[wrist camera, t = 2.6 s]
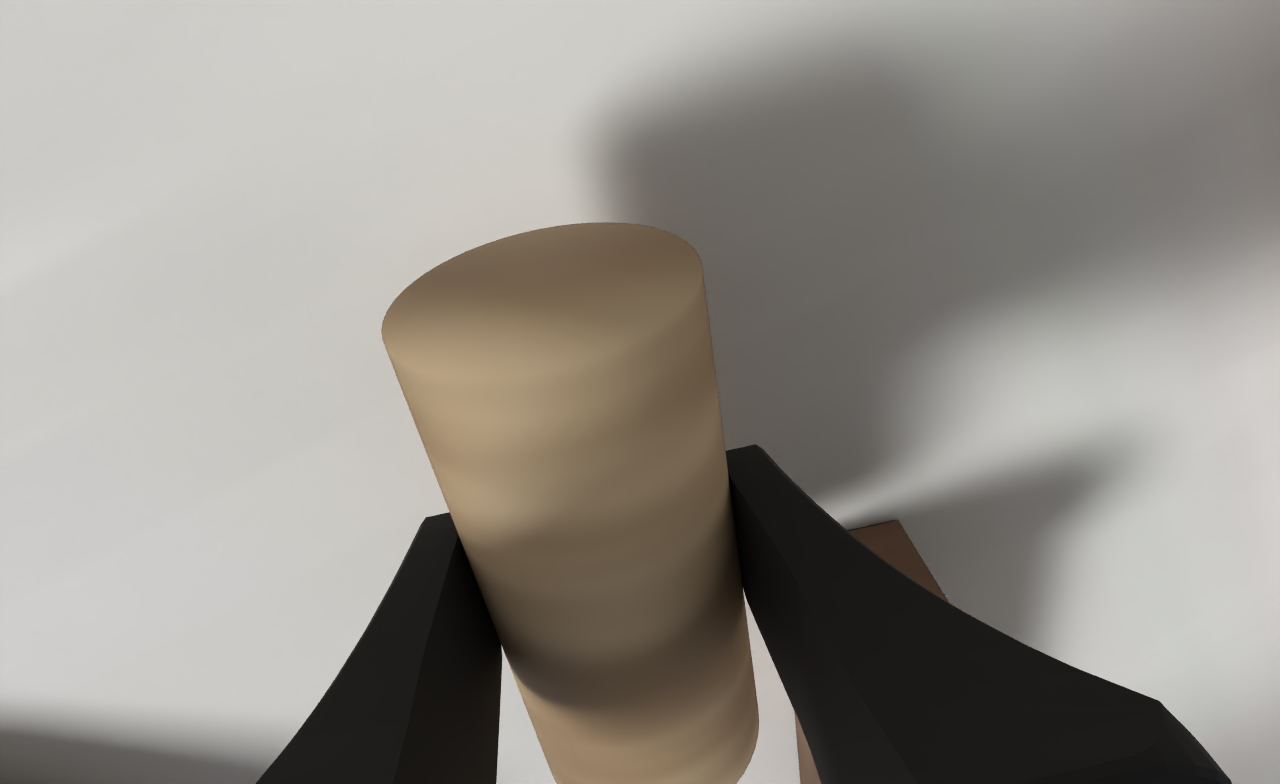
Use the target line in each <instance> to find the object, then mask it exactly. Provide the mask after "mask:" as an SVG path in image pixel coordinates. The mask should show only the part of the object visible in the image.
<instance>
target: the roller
mask: <svg viewBox="0 0 1280 784" xmlns="http://www.w3.org/2000/svg"><path fill="white" fill-rule="evenodd" d="M381 332H382V339H383V342H384V345H385V347H386V350H387V353H388V355H389V358H390V360H391V363H392V365H393V368H394V370H395V373H396V376H397V378H398V381H399V383H400V386H401V388H402V391H403V394H404V396H405V399H406V401H407V404H408V406H409V409H410V411H411V414H412V417H413V419H414V422H415V424H416V427H417V429H418V432H419V435H420V437H421V440H422V442H423V445H424V447H425V450H426V452H427V455H428V458H429V460H430V463H431V465H432V468H433V470H434V473H435V476H436V478H437V481H438V483H439V486H440V488H441V491H442V493H443V496H444V499H445V501H446V504H447V506H448V509H449V511H450V514H451V517H452V519H453V522H454V524H455V527H456V529H457V532H458V535H459V537H460V540H461V542H462V545H463V547H464V550H465V552H466V555H467V558H468V560H469V563H470V565H471V568H472V570H473V573H474V576H475V578H476V581H477V583H478V586H479V588H480V591H481V593H482V596H483V599H484V601H485V604H486V606H487V609H488V611H489V614H490V617H491V619H492V622H493V624H494V627H495V629H496V632H497V634H498V637H499V640H500V642H501V645H502V647H503V650H504V652H505V655H506V658H507V660H508V663H509V665H510V668H511V670H512V673H513V675H514V678H515V681H516V683H517V686H518V688H519V691H520V693H521V696H522V699H523V701H524V704H525V706H526V709H527V711H528V714H529V717H530V719H531V722H532V724H533V727H534V729H535V732H536V734H537V737H538V740H539V742H540V745H541V747H542V750H543V752H544V755H545V758H546V760H547V763H548V765H549V768H550V770H551V772H552V775H553V777H554V779H555V781H556V783H557V784H736V783H737V782H738V781H739V779H740V778H741V777H742V775H743V774H744V772H745V770H746V768H747V766H748V765H749V763H750V761H751V758H752V755H753V753H754V750H755V747H756V742H757V738H758V729H759V714H758V704H757V696H756V688H755V680H754V672H753V664H752V657H751V649H750V641H749V633H748V625H747V617H746V609H745V601H744V593H743V586H742V578H741V570H740V562H739V554H738V546H737V538H736V530H735V523H734V515H733V507H732V499H731V491H730V483H729V475H728V467H727V459H726V452H725V444H724V436H723V428H722V420H721V412H720V404H719V396H718V388H717V381H716V373H715V365H714V357H713V349H712V341H711V333H710V325H709V317H708V310H707V302H706V294H705V286H704V278H703V270H702V264H701V261H700V258H699V255H698V254H697V252H696V251H695V250H694V248H693V247H692V246H690V245H689V244H688V243H687V242H686V241H684V240H683V239H681V238H679V237H678V236H676V235H673V234H671V233H669V232H666V231H663V230H660V229H656V228H653V227H648V226H642V225H636V224H626V223H582V224H571V225H563V226H555V227H550V228H544V229H538V230H534V231H529V232H525V233H521V234H517V235H513V236H510V237H506V238H503V239H499V240H496V241H493V242H490V243H487V244H485V245H482V246H479V247H477V248H474V249H472V250H469V251H467V252H465V253H462V254H460V255H458V256H456V257H454V258H452V259H450V260H448V261H446V262H444V263H442V264H440V265H438V266H437V267H435V268H433V269H432V270H430V271H429V272H427V273H425V274H424V275H422V276H421V277H420V278H418V279H417V280H416V281H414V282H413V283H412V284H411V285H409V286H408V287H407V288H406V289H405V290H404V291H403V292H402V293H401V294H400V295H399V296H398V297H397V298H396V299H395V300H394V302H393V303H392V305H391V306H390V308H389V309H388V311H387V312H386V315H385V317H384V320H383V323H382V330H381Z"/></svg>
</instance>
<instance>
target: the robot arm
mask: <svg viewBox="0 0 1280 784" xmlns="http://www.w3.org/2000/svg"><path fill="white" fill-rule="evenodd" d="M725 452H726V459H727V467H728V475H729V483H730V491H731V499H732V507H733V515H734V523H735V530H736V538H737V546H738V554H739V562H740V570H741V578H742V586H743V589H744V592H745V595H746V599H747V602H748V604H749V607H750V609H751V611H752V614H753V616H754V618H755V621H756V623H757V625H758V628H759V630H760V632H761V635H762V637H763V639H764V642H765V644H766V646H767V649H768V651H769V653H770V655H771V658H772V660H773V662H774V665H775V667H776V669H777V672H778V674H779V676H780V678H781V681H782V683H783V685H784V688H785V690H786V692H787V695H788V697H789V699H790V701H791V704H792V706H793V708H794V711H795V713H796V715H797V718H798V720H799V722H800V725H801V727H802V730H803V733H804V735H805V738H806V740H807V743H808V746H809V748H810V751H811V754H812V757H813V760H814V763H815V766H816V769H817V772H818V775H819V778H820V782H821V784H1232V783H1231V780H1230V779H1229V778H1228V777H1227V776H1226V774H1225V773H1224V772H1223V771H1222V769H1221V768H1220V767H1219V766H1218V764H1217V763H1216V762H1215V761H1214V760H1213V758H1212V757H1211V756H1210V755H1209V753H1208V752H1207V751H1206V750H1205V749H1204V747H1203V746H1202V745H1201V744H1200V743H1199V742H1198V741H1197V740H1196V738H1195V737H1194V736H1193V735H1192V734H1191V733H1190V732H1189V731H1188V730H1187V729H1186V728H1185V727H1184V726H1183V725H1182V724H1181V723H1180V722H1179V721H1178V720H1177V719H1176V718H1175V717H1174V716H1173V715H1172V714H1171V713H1170V712H1169V711H1168V710H1167V709H1166V708H1165V707H1164V706H1163V704H1162V703H1161V702H1160V701H1158V700H1155V699H1153V698H1150V697H1148V696H1145V695H1143V694H1140V693H1138V692H1135V691H1132V690H1130V689H1127V688H1125V687H1122V686H1120V685H1117V684H1115V683H1112V682H1110V681H1107V680H1105V679H1102V678H1099V677H1097V676H1094V675H1092V674H1089V673H1087V672H1084V671H1082V670H1079V669H1077V668H1075V667H1072V666H1070V665H1068V664H1066V663H1063V662H1061V661H1059V660H1057V659H1055V658H1053V657H1050V656H1048V655H1046V654H1044V653H1042V652H1040V651H1037V650H1035V649H1033V648H1031V647H1029V646H1027V645H1025V644H1023V643H1021V642H1019V641H1017V640H1015V639H1013V638H1011V637H1009V636H1007V635H1006V634H1004V633H1002V632H1000V631H998V630H996V629H994V628H992V627H991V626H989V625H987V624H985V623H983V622H981V621H979V620H978V619H976V618H974V617H972V616H970V615H968V614H966V613H965V612H963V611H961V610H960V609H958V608H956V607H955V606H953V605H951V604H950V603H948V602H947V601H945V600H943V599H942V598H940V597H938V596H937V595H935V594H933V593H932V592H930V591H929V590H927V589H926V588H924V587H923V586H921V585H920V584H918V583H917V582H915V581H914V580H912V579H911V578H909V577H908V576H906V575H905V574H903V573H902V572H901V571H899V570H898V569H896V568H895V567H894V566H892V565H891V564H889V563H888V562H887V561H885V560H884V559H883V558H881V557H880V556H879V555H877V554H876V553H875V552H874V551H872V550H871V549H870V548H868V547H867V546H866V545H865V544H863V543H862V542H861V541H859V540H858V539H857V538H856V537H854V536H853V535H852V534H851V533H850V532H848V531H847V530H846V529H845V528H844V527H842V526H841V525H840V524H839V523H838V522H837V521H836V520H834V519H833V518H832V517H831V516H830V515H829V514H828V513H826V512H825V511H824V510H823V509H822V508H821V507H820V506H818V505H817V504H816V503H815V502H814V501H813V500H812V499H811V498H810V497H809V496H808V495H807V494H806V493H804V492H803V491H802V490H801V489H800V488H799V487H798V486H797V485H796V484H795V483H794V482H793V481H792V480H791V479H790V478H789V477H788V476H787V475H786V474H785V473H784V472H783V471H782V470H781V469H780V468H779V466H778V465H777V464H776V463H775V462H774V461H773V460H772V459H771V458H770V457H769V456H768V455H767V453H766V452H765V451H764V450H763V449H762V448H760V447H759V446H757V445H756V444H755V445H751V446H746V447H742V448H737V449H733V450H728V451H725ZM501 673H502V649H501V642H500V640H499V637H498V634H497V632H496V629H495V627H494V624H493V622H492V619H491V617H490V614H489V611H488V609H487V606H486V604H485V601H484V599H483V596H482V593H481V591H480V588H479V586H478V583H477V581H476V578H475V576H474V573H473V570H472V568H471V565H470V563H469V560H468V558H467V555H466V552H465V550H464V547H463V545H462V542H461V540H460V537H459V535H458V532H457V529H456V527H455V524H454V522H453V519H452V517H451V514H450V512H449V513H444V514H440V515H435V516H431V517H426V518H425V520H424V521H423V522H422V524H421V526H420V528H419V530H418V532H417V534H416V536H415V538H414V540H413V542H412V544H411V546H410V548H409V550H408V552H407V554H406V556H405V558H404V560H403V562H402V564H401V566H400V568H399V570H398V572H397V574H396V575H395V577H394V579H393V581H392V583H391V585H390V587H389V589H388V591H387V592H386V594H385V596H384V598H383V600H382V601H381V603H380V605H379V607H378V609H377V610H376V612H375V614H374V616H373V618H372V620H371V621H370V623H369V625H368V627H367V628H366V630H365V632H364V633H363V635H362V637H361V638H360V640H359V642H358V643H357V645H356V646H355V648H354V650H353V651H352V653H351V654H350V656H349V658H348V659H347V661H346V662H345V664H344V666H343V667H342V669H341V670H340V672H339V674H338V675H337V677H336V678H335V680H334V681H333V683H332V684H331V686H330V687H329V689H328V690H327V692H326V693H325V695H324V696H323V698H322V699H321V700H320V702H319V703H318V705H317V706H316V708H315V709H314V710H313V712H312V713H311V715H310V716H309V717H308V719H307V720H306V721H305V723H304V724H303V725H302V727H301V728H300V729H299V731H298V732H297V733H296V735H295V736H294V737H293V739H292V740H291V741H290V743H289V744H288V745H287V746H286V748H285V749H284V750H283V751H282V753H281V754H280V755H279V756H278V757H277V759H276V760H275V761H274V762H273V764H272V765H271V766H270V767H269V768H268V769H267V771H266V772H265V773H264V774H263V775H262V777H261V778H260V779H259V780H258V781H257V782H256V784H496V776H497V756H498V736H499V716H500V695H501Z"/></svg>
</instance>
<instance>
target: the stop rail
mask: <svg viewBox="0 0 1280 784" xmlns="http://www.w3.org/2000/svg"><path fill="white" fill-rule="evenodd" d="M848 532H850V533H851V534H852V535H853V536H854V537H856V538H857V539H858V540H859V541H861V542H862V543H863V544H865V545H866V546H867V547H868V548H870V549H871V550H872V551H874V552H875V553H876V554H877V555H879V556H880V557H881V558H883V559H884V560H885V561H887V562H888V563H889V564H891V565H892V566H894V567H895V568H896V569H898V570H899V571H901V572H902V573H903V574H905V575H906V576H908V577H909V578H911V579H912V580H914V581H915V582H917V583H918V584H920V585H921V586H923V587H924V588H926V589H927V590H929V591H930V592H932V593H933V594H935V595H937V596H938V597H940V598H942V599H943V600H945V601H947V602H948V600H947V599H946V597H945V595H944V594H943V592H942V591H941V589H940V587H939V586H938V584H937V582H936V581H935V579H934V578H933V576H932V574H931V573H930V571H929V569H928V568H927V566H926V565H925V563H924V561H923V560H922V558H921V557H920V555H919V553H918V552H917V550H916V548H915V547H914V545H913V544H912V542H911V540H910V539H909V537H908V536H907V534H906V532H905V531H904V529H903V527H902V526H901V524H900V523H899V521H898V520H896V521H892V522H887V523H883V524H878V525H874V526H870V527H865V528H861V529H856V530H852V531H848ZM948 603H949V602H948ZM795 721H796V733H797V746H798V758H799V770H800V782H801V784H821V782H820V778H819V775H818V772H817V769H816V766H815V763H814V760H813V757H812V754H811V751H810V748H809V746H808V743H807V740H806V738H805V735H804V733H803V730H802V727H801V725H800V722H799V720H798V718H797V715H796V713H795Z"/></svg>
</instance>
